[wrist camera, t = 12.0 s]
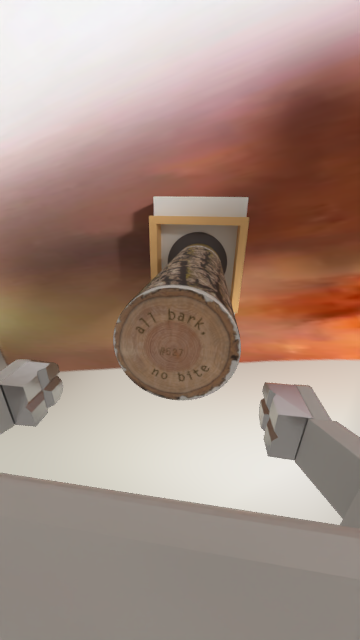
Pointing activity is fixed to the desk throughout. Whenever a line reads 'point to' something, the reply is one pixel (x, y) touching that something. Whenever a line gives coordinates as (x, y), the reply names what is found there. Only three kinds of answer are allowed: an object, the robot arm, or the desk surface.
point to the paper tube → (180, 329)
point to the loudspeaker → (201, 233)
